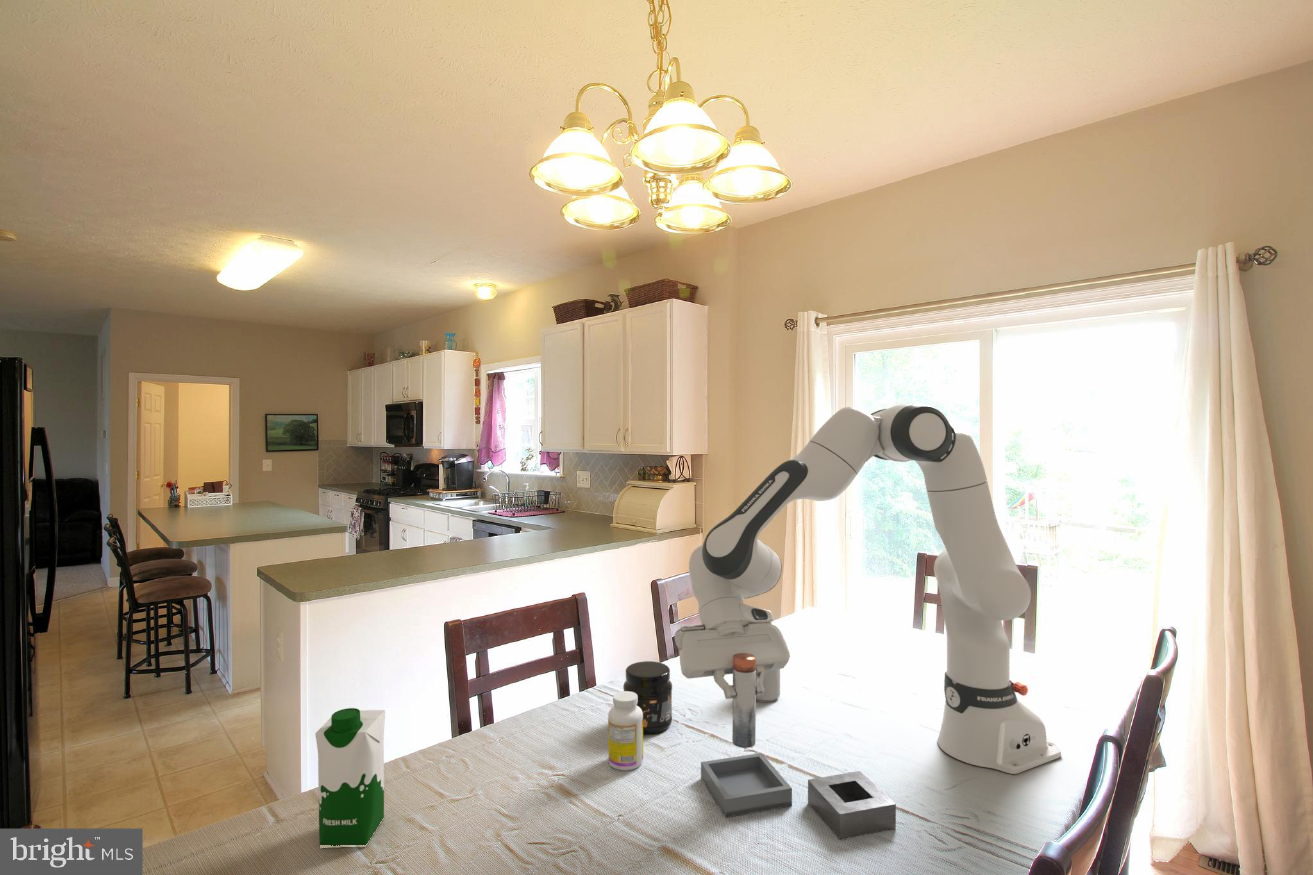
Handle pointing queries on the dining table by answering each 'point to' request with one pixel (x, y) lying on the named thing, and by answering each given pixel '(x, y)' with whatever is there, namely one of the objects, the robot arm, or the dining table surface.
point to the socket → (851, 805)
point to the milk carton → (350, 776)
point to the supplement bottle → (625, 732)
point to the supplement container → (651, 693)
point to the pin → (744, 700)
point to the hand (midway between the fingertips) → (745, 695)
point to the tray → (745, 784)
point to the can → (770, 686)
